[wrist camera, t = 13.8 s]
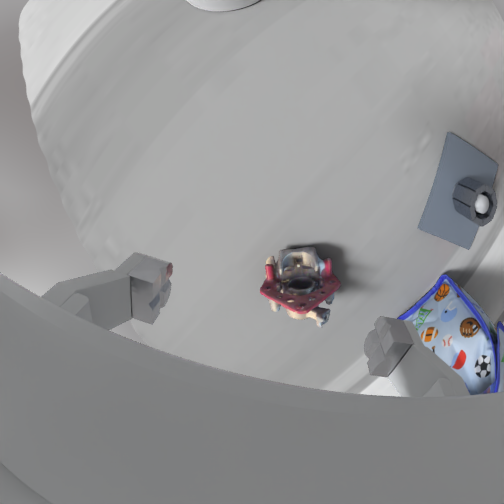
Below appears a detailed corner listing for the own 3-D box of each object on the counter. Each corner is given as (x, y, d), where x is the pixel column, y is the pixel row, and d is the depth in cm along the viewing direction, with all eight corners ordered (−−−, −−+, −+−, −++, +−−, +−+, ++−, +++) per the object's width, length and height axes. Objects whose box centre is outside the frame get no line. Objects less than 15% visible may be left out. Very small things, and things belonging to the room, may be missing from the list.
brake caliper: (336, 230, 36) (349, 317, 30) (332, 265, 45) (340, 334, 40) (254, 239, 38) (254, 324, 32) (267, 271, 47) (268, 339, 42)
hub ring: (459, 172, 30) (478, 179, 25) (482, 186, 30) (500, 194, 25) (448, 207, 32) (465, 218, 28) (471, 219, 32) (488, 230, 28)
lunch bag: (491, 312, 40) (546, 398, 16) (440, 362, 47) (476, 455, 23) (449, 258, 37) (537, 366, 13) (387, 324, 44) (429, 452, 20)
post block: (447, 132, 29) (471, 134, 23) (494, 163, 29) (518, 171, 23) (417, 227, 36) (436, 244, 30) (466, 247, 36) (485, 264, 30)
